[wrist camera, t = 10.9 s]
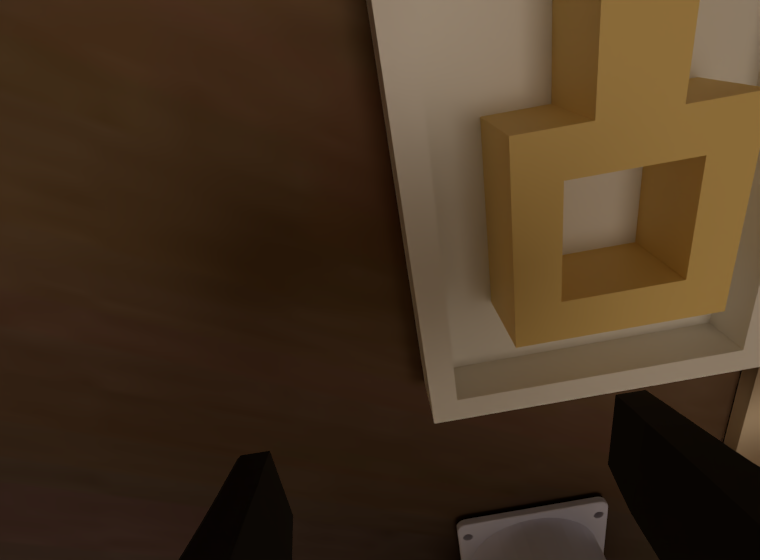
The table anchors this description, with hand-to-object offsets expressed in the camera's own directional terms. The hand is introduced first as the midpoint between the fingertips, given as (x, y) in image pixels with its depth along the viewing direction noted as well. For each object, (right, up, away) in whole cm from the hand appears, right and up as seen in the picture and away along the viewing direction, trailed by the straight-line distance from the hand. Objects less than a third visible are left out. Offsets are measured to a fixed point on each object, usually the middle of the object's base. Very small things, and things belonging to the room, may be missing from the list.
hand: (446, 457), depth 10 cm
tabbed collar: (+5, +9, +5) cm, 12 cm away
